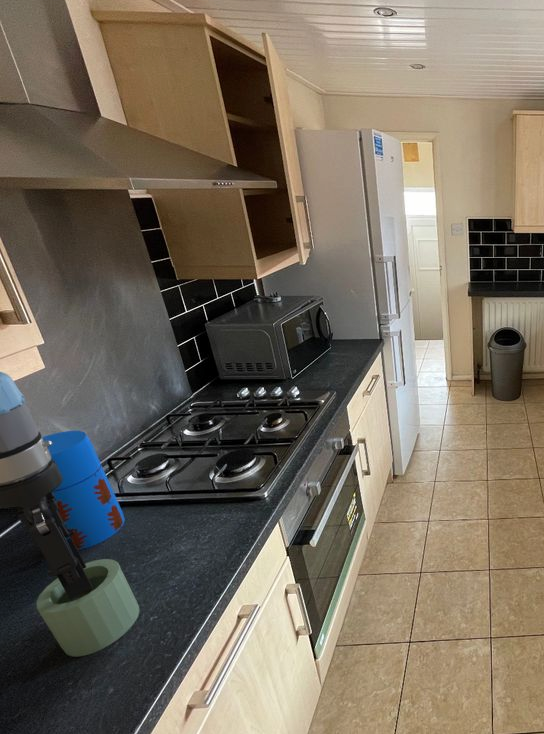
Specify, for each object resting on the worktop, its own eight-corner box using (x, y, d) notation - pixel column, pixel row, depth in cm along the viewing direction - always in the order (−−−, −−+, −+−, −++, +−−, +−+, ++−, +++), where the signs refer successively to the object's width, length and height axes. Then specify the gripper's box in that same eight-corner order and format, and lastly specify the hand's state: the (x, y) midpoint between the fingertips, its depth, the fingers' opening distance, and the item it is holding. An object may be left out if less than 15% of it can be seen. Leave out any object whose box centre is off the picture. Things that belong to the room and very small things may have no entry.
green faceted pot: (67, 670, 69) (39, 625, 65) (59, 630, 75) (33, 587, 71) (145, 623, 76) (124, 580, 72) (132, 591, 82) (112, 549, 78)
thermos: (114, 513, 101) (73, 425, 92) (137, 528, 97) (97, 437, 87) (53, 545, 92) (2, 451, 83) (76, 563, 88) (24, 466, 78)
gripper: (61, 485, 59) (118, 598, 68) (47, 437, 70) (97, 540, 79) (-20, 515, 54) (53, 633, 63) (-22, 458, 65) (41, 566, 74)
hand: (78, 581), depth 71 cm, fingers open, 6 cm apart
